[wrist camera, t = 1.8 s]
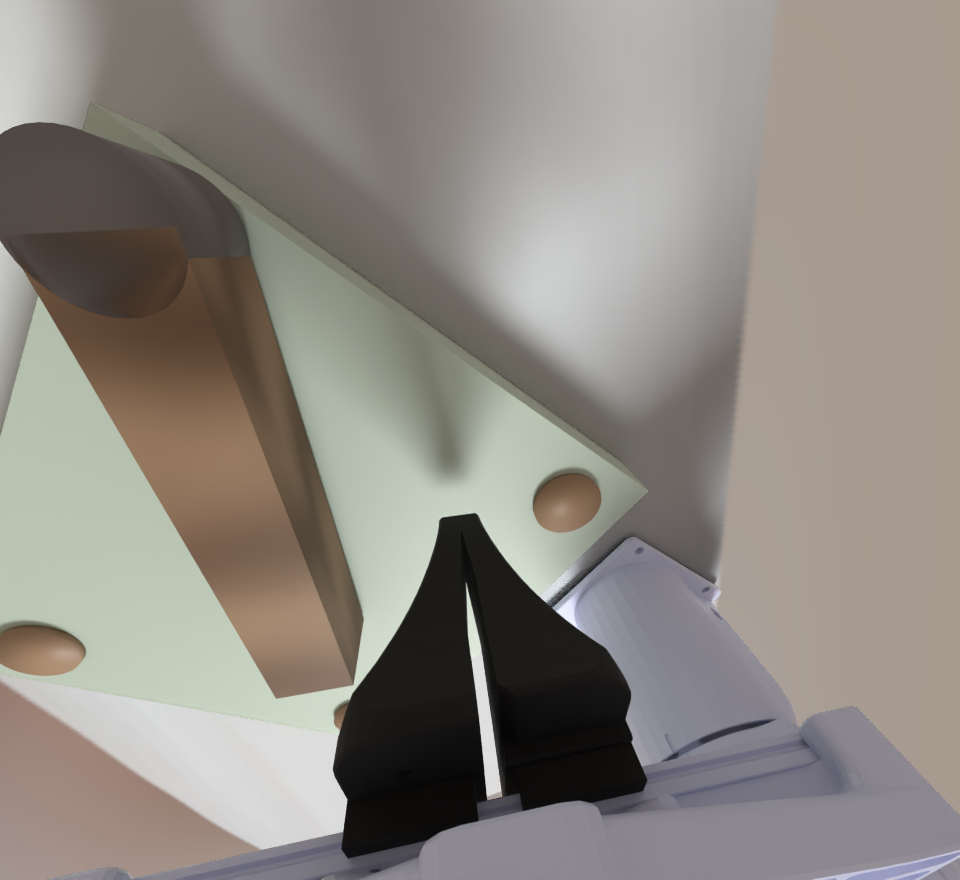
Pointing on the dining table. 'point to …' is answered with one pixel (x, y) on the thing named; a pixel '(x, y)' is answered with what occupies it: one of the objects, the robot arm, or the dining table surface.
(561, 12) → the dining table surface
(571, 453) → the stool seat
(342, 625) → the folding leg
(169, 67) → the dining table surface
